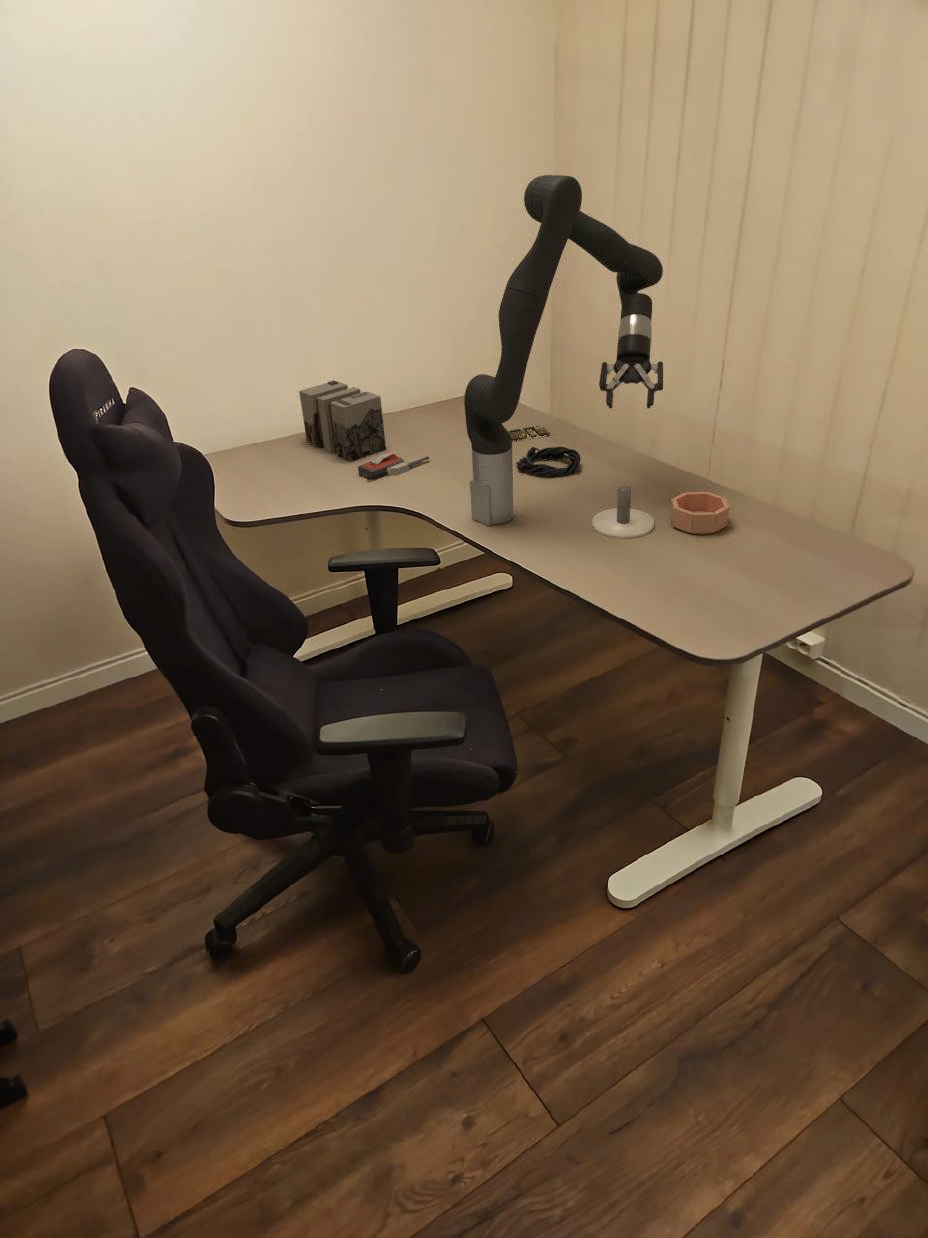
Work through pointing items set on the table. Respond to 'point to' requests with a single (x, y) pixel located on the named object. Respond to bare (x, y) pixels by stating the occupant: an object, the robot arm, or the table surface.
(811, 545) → the table surface
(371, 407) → the bookend
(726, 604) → the table surface
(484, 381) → the robot arm
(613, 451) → the table surface
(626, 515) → the lid
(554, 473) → the cable
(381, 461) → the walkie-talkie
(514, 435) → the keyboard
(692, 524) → the bowl
